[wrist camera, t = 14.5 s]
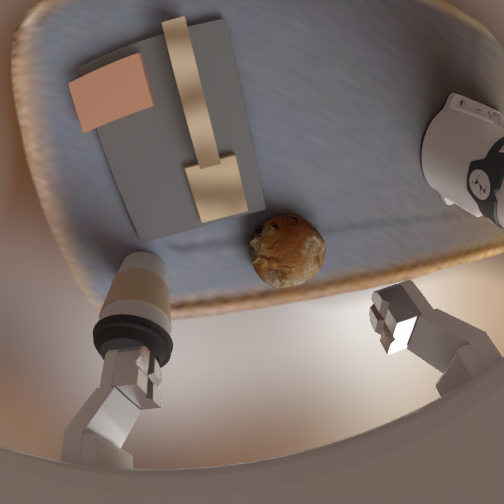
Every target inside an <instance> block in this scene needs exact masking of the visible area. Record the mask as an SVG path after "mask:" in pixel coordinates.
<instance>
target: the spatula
mask: <svg viewBox="0 0 504 504" xmlns="http://www.w3.org/2000/svg"><path fill="white" fill-rule="evenodd" d="M162 27H163V31H164V35H165V39H166V43H167V47H168V51H169V55H170V59H171V63H172V67H173V71H174V75H175V79H176V83H177V87H178V90H179V94H180V98H181V102H182V106H183V109H184V113H185V117H186V121H187V124H188V128H189V132H190V135H191V139H192V142H193V146H194V150H195V153H196V157H197V160H198V163H197V164H193V165H190V166H186V167H185V171H186V174H187V177H188V181H189V184H190V187H191V190H192V194H193V197H194V200H195V203H196V206H197V209H198V212H199V216H200V219H201V222H202V223H204V222H208V221H212V220H216V219H219V218H223V217H227V216H231V215H235V214H239V213H243V212H247V211H248V208H247V204H246V199H245V195H244V191H243V186H242V182H241V178H240V173H239V169H238V164H237V160H236V156H235V154H231V155H227V156H223V157H219V153H218V149H217V145H216V141H215V137H214V133H213V129H212V125H211V121H210V117H209V113H208V109H207V105H206V101H205V97H204V93H203V89H202V85H201V81H200V77H199V73H198V69H197V65H196V61H195V56H194V52H193V48H192V44H191V40H190V36H189V32H188V27H187V23H186V19H185V16H183V17H179V18H175V19H172V20H168V21H165V22H162Z"/></svg>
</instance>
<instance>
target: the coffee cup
mask: <svg viewBox="0 0 504 504" xmlns="http://www.w3.org/2000/svg"><path fill="white" fill-rule="evenodd" d="M170 333H171V315H170V299H169V289H168V271H167V267H166V265H165V263H164V262H163V261H162V260H161V259H160V258H159V257H158V256H156V255H154V254H152V253H149V252H144V251H138V252H134V253H131V254H129V255H128V256H126V257H125V259H124V260H123V262H122V264H121V266H120V269H119V271H118V273H117V275H116V277H115V278H114V280H113V282H112V285H111V287H110V290H109V292H108V294H107V297H106V299H105V302H104V304H103V307H102V309H101V312H100V315H99V321H98V323H97V324H96V325H95V327H94V329H93V339H94V340H93V341H94V345H95V347H96V349H97V351H98V352H99V354H100V355H101V356H102V358H103V360H105V355H106V353H107V352H108V350H116V349H124V348H133V347H141V346H146V347H147V349H148V350H149V351H150V355H149V356H151V357H153V358H155V359H156V360H157V362H158V364H159V366H160V368H161V367H163V366H164V365H165V364H166V363H167V362H168V361H169V359H170V356H171V352H172V349H173V342H172V339H171V337H170Z"/></svg>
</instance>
